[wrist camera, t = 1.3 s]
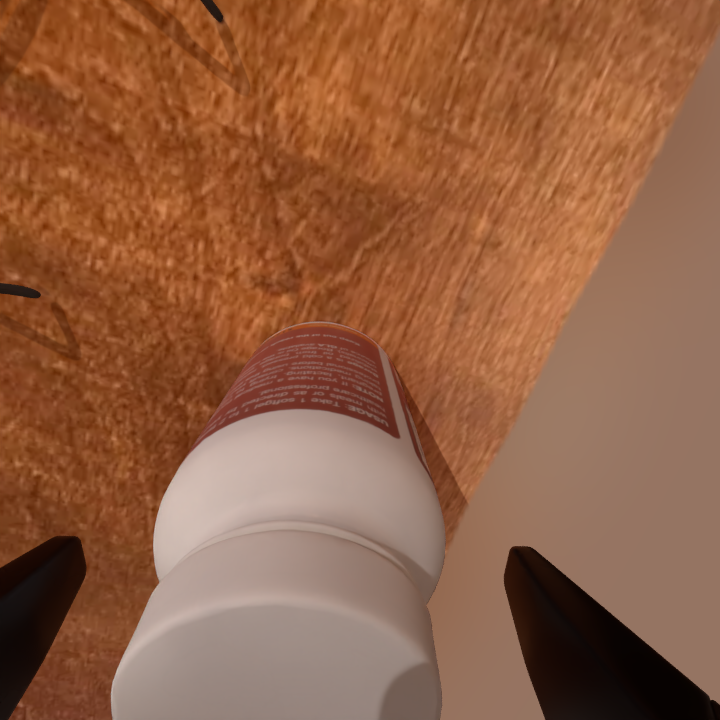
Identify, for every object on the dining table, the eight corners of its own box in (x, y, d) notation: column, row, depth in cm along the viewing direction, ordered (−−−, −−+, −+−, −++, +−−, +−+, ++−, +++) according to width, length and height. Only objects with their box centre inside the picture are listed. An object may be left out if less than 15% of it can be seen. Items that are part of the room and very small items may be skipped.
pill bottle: (211, 391, 16) (-51, 726, 5) (321, 282, 15) (255, 452, 4) (323, 485, 18) (287, 881, 7) (431, 395, 16) (582, 718, 6)
